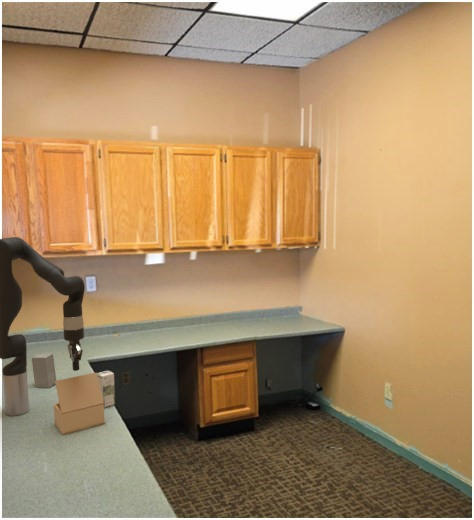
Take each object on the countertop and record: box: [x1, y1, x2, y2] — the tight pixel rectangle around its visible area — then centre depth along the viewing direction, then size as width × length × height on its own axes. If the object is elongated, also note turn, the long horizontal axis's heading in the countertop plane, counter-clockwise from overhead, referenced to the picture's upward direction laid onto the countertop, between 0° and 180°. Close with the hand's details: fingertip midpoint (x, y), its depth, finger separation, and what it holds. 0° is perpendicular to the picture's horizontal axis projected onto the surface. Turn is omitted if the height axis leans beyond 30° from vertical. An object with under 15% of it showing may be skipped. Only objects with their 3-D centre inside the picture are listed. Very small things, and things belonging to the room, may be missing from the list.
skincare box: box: [31, 353, 57, 389], centre depth 228 cm, size 8×7×16 cm
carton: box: [53, 402, 106, 435], centre depth 183 cm, size 13×16×8 cm
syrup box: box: [96, 370, 116, 409], centre depth 201 cm, size 6×6×14 cm
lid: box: [55, 372, 104, 414], centre depth 180 cm, size 13×16×1 cm
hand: (76, 370), depth 182 cm, fingers closed
